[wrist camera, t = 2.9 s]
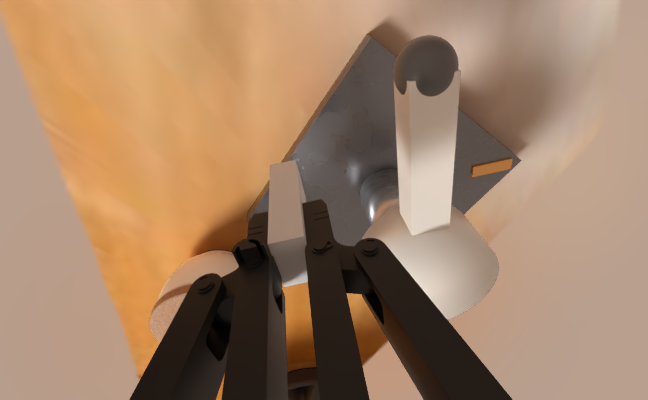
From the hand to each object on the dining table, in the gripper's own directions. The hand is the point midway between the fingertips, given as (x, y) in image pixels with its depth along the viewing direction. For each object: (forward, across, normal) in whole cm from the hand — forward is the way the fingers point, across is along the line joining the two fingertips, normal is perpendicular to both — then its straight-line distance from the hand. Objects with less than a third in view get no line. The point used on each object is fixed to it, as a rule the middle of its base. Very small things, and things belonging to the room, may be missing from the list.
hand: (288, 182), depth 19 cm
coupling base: (+11, +8, -9) cm, 16 cm away
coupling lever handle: (+1, +8, -4) cm, 9 cm away
